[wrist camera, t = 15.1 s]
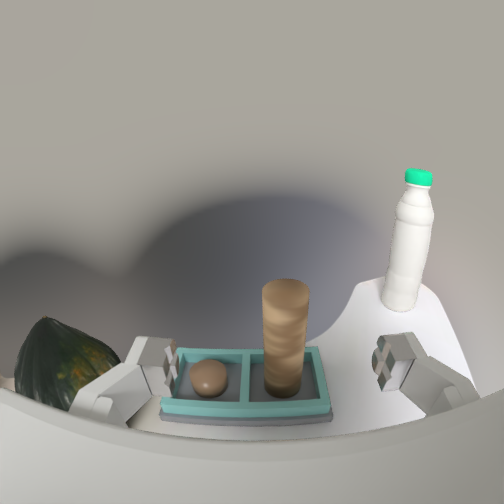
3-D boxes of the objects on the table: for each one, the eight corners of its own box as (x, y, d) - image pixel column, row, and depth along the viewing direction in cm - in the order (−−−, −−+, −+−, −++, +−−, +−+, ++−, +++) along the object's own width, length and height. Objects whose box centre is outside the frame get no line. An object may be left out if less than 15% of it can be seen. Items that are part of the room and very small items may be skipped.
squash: (77, 479, 15) (76, 325, 20) (-2, 421, 18) (0, 302, 23) (150, 446, 29) (156, 336, 33) (70, 414, 32) (74, 320, 36)
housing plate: (161, 420, 29) (153, 402, 27) (178, 360, 39) (173, 341, 38) (331, 421, 28) (337, 403, 27) (318, 359, 38) (321, 340, 37)
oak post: (264, 399, 31) (262, 304, 25) (264, 372, 35) (261, 279, 30) (302, 397, 31) (313, 302, 25) (298, 371, 35) (305, 277, 29)
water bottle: (373, 300, 51) (390, 165, 41) (396, 290, 54) (414, 166, 43) (398, 318, 45) (424, 173, 35) (421, 306, 48) (446, 174, 37)
